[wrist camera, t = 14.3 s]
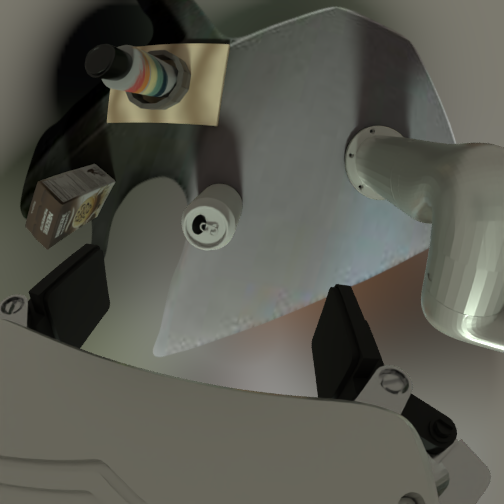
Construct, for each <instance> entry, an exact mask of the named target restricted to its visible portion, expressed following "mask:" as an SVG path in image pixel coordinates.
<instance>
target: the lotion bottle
mask: <svg viewBox="0 0 504 504" xmlns="http://www.w3.org/2000/svg"><path fill="white" fill-rule="evenodd" d="M85 68H86V71H87V73H88V74H89V75H90V76H92V77H94V78H100V79H102V81H103V82H104V84H105V85H106V86H107V87H109V88H111V89H116V90H121V91H127V92H132V93H138V94H143V95H148V96H153V97H158V98H166V97H168V96H169V94H170V93H171V92H172V90H173V89H174V87H175V86H176V84H177V77H178V70H177V69H176V68H174V67H173V66H171V65H169V64H168V63H166V62H164V61H162V60H160V59H158V58H156V57H155V56H153V55H151V54H149V53H147V52H145V51H143V50H141V49H139V48H137V47H134V46H131V45H124V46H120V47H118V48H116V47H114V46H112V45H108V44H102V45H99V46H96V47H95V48H93V49H92V50H91V51H90V52H89V54H88V55H87V57H86V61H85Z"/></svg>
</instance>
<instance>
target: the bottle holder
mask: <svg viewBox="0 0 504 504" xmlns="http://www.w3.org/2000/svg"><path fill="white" fill-rule="evenodd" d="M137 48H139V49H141V50H143V51H145V52H147V53H149V54H151V55H153V56H155V57H156V58H158V59H160V60H162V61H164V62H166V63H168V64H169V65H171V66H173V67H174V68H176V69H177V70H178V77H177V84H176V86H175V87H174V89H173V90H172V92H171V93H170V94H169V96H168V97H166V98H158V97H153V96H148V95H143V94H138V93H132V92H127V91H121V90H116V89H110V97H109V106H108V116H107V123H119V122H155V123H182V124H198V125H210V126H218V122H219V114H220V107H221V100H222V93H223V87H224V80H225V74H226V67H227V61H228V56H229V50H230V45H229V44H164V45H150V46H140V47H137Z"/></svg>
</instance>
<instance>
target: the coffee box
mask: <svg viewBox="0 0 504 504" xmlns="http://www.w3.org/2000/svg"><path fill="white" fill-rule="evenodd" d="M114 183H115V180H114V179H113V178H111V177H110V176H109V175H108V174H107V173H105V172H104V171H103V170H102V169H101V168H99V167H98V166H97V165H96V164H92V165H89V166H85V167H82V168H78V169H75V170H72V171H69V172H65V173H62V174H59V175H56V176H53V177H50V178H47V179H44V180H41V181H39V182H38V183H37V186H36V189H35V192H34V196H33V199H32V202H31V206H30V209H29V213H28V217H27V221H26V225H25V227H26V228H27V229H28V230H29V231H30V232H31V233H32V234H33V236H34V237H35V238H36V239H37V240H38V241H39V242H40V243H41V244H42V245H43V246H44V247H45V248H46V249H49V248H50V247H52V246H53V245H55V244H56V243H57V242H59V241H60V240H62V239H63V238H65V237H66V236H68V235H69V234H70V233H72V232H74V231H75V230H77V229H78V228H80V227H81V226H83V225H84V224H86V223H87V222H89V221H91V220H92V219H94V218H95V217H97V216H98V214H99V212H100V210H101V208H102V206H103V204H104V202H105V200H106V198H107V196H108V194H109V192H110V191H111V189H112V187H113V185H114Z"/></svg>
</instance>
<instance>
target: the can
mask: <svg viewBox="0 0 504 504" xmlns="http://www.w3.org/2000/svg"><path fill="white" fill-rule="evenodd" d="M242 207H243V206H242V200H241V198H240V195H239V194H238V192H237V191H236V190H235V189H234V188H232V187H230V186H228V185H225V184H213V185H211V186H209V187H207V188H206V189H205V190H204V191H203V192H202V193H200V194H199V195H198V196H197V197H196V198H195V199H194V200H193V201H192V202H191V203H190V204H189V205H188V206H187V207H186V208H185V211H184V213H183V215H182V221H181V224H182V229H183V232H184V235H185V237H186V238H187V240H188V241H189V242H190V243H191V244H192V245H193V246H195V247H197V248H199V249H202V250H216V249H219V248H221V247H224V246H225V245H226V244H227V243H229V242H230V240H231V239H232V237H233V235H234V233H235V230H236V227H237V224H238V222H239V219H240V216H241V212H242Z"/></svg>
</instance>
